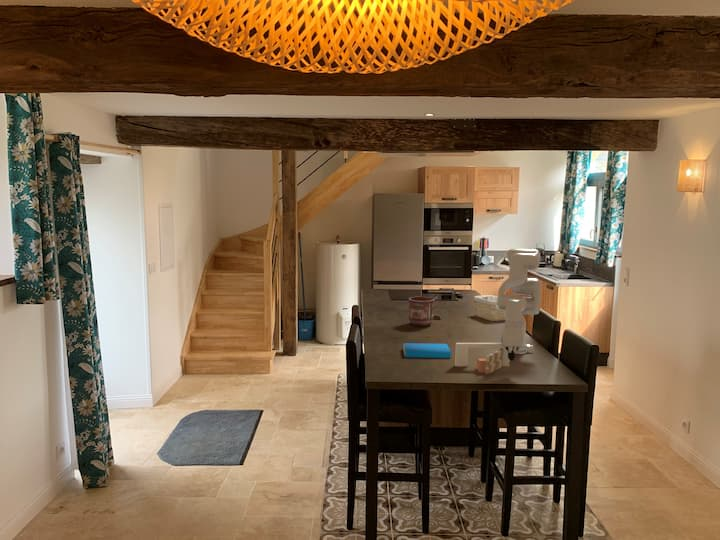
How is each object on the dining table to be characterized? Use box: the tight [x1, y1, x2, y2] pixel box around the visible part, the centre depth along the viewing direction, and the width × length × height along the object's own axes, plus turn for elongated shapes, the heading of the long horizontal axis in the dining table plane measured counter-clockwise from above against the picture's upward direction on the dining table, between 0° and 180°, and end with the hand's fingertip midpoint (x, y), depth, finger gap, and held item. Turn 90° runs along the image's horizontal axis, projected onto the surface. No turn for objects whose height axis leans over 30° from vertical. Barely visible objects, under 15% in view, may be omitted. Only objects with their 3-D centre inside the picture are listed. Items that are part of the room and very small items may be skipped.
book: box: [402, 342, 452, 359], centre depth 323 cm, size 17×4×25 cm
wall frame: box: [454, 342, 511, 367], centre depth 300 cm, size 28×2×12 cm, turn 92°
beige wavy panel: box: [484, 348, 504, 375], centre depth 293 cm, size 18×2×10 cm, turn 142°
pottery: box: [408, 296, 436, 328], centre depth 391 cm, size 18×18×18 cm
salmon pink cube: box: [476, 356, 486, 373], centre depth 293 cm, size 5×6×6 cm
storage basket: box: [473, 294, 506, 322], centre depth 416 cm, size 24×16×15 cm
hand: (511, 359), depth 288 cm, fingers closed
